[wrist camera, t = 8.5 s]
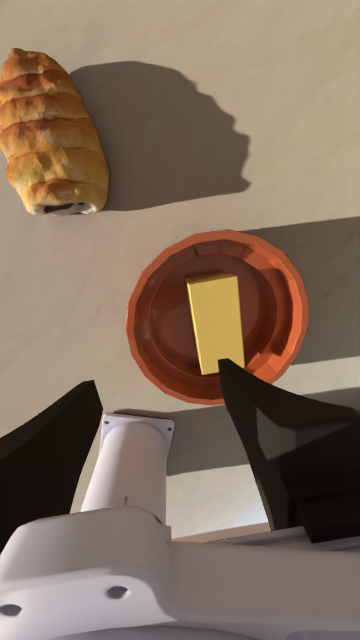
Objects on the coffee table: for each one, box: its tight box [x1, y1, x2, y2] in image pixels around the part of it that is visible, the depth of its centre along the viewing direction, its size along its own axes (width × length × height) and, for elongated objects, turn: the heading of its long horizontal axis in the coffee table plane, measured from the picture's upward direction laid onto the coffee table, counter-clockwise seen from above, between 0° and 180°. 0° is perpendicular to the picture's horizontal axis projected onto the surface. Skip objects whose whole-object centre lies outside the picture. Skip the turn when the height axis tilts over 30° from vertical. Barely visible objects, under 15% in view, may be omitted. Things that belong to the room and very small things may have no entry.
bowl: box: [125, 230, 309, 405], centre depth 19 cm, size 14×14×4 cm
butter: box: [185, 271, 245, 375], centre depth 18 cm, size 8×4×4 cm, turn 10°
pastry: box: [0, 48, 109, 216], centre depth 14 cm, size 9×7×4 cm
